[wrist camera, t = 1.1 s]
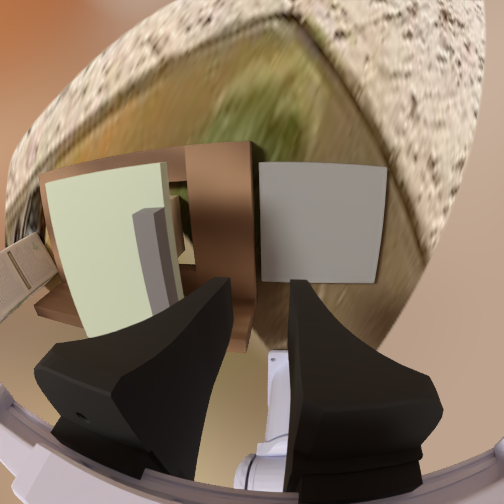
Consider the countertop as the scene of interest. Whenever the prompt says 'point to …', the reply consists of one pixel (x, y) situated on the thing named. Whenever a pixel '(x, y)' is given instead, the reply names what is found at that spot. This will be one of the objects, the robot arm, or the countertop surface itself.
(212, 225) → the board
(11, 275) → the syrup box
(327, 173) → the mat
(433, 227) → the countertop surface
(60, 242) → the cover
